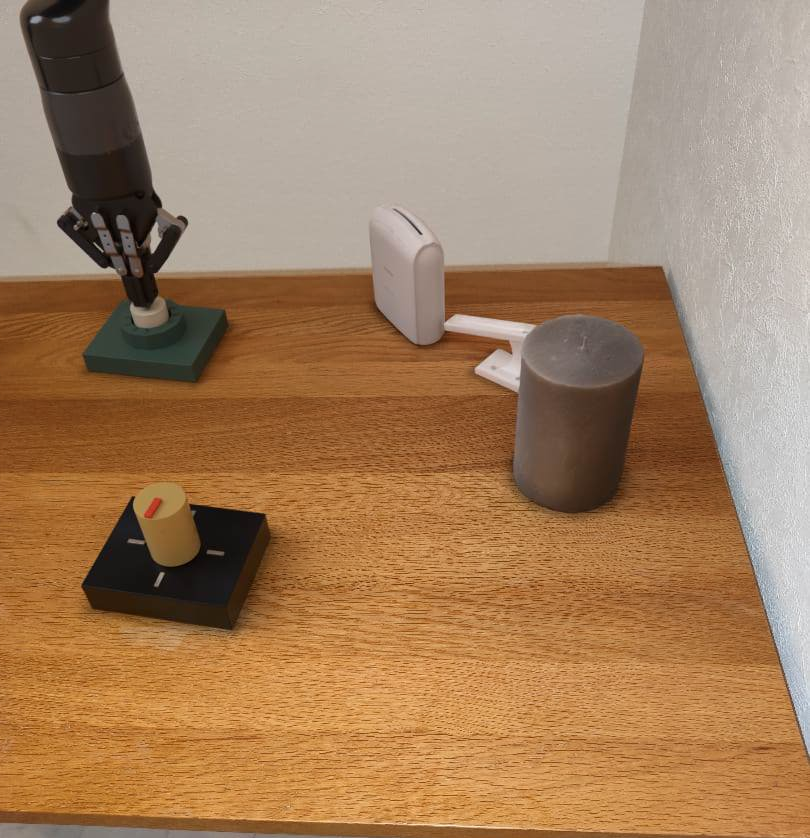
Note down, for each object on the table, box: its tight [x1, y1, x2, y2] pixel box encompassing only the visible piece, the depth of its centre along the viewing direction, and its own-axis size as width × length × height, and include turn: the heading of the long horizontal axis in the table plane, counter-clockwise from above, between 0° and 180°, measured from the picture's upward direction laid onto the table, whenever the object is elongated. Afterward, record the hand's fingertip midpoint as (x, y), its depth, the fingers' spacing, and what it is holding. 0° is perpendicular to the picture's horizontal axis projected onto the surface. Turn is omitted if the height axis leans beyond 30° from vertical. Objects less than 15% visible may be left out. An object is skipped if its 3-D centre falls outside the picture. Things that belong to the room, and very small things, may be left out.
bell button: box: [130, 295, 169, 329], centre depth 92 cm, size 4×4×2 cm
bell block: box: [81, 298, 229, 384], centre depth 94 cm, size 12×10×4 cm
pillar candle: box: [512, 313, 645, 513], centre depth 75 cm, size 10×10×15 cm
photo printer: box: [368, 202, 446, 346], centre depth 92 cm, size 10×4×12 cm, turn 30°
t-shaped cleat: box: [444, 313, 537, 394], centre depth 87 cm, size 4×20×5 cm, turn 51°
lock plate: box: [80, 496, 271, 631], centre depth 73 cm, size 12×10×3 cm
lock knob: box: [133, 481, 201, 567], centre depth 70 cm, size 4×4×6 cm
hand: (145, 303), depth 91 cm, fingers closed
